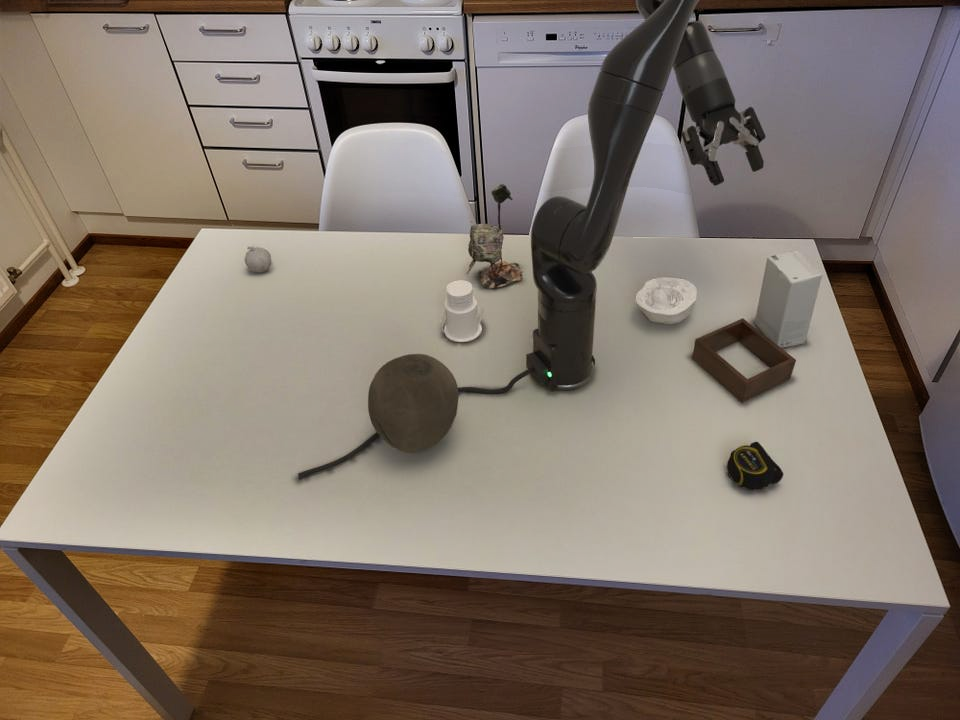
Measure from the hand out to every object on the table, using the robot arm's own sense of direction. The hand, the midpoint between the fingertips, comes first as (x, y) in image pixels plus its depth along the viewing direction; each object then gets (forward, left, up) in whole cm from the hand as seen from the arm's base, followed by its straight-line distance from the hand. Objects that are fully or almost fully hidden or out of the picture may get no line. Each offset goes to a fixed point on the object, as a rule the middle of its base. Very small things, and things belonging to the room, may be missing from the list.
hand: (739, 176), depth 130 cm
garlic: (-73, +56, -25) cm, 96 cm away
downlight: (-46, +16, -25) cm, 55 cm away
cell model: (-12, 0, -25) cm, 28 cm away
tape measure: (-24, -36, -25) cm, 50 cm away
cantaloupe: (-64, -3, -25) cm, 69 cm away
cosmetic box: (+2, -14, -25) cm, 29 cm away
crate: (-10, -18, -25) cm, 32 cm away
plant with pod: (-33, +27, -25) cm, 50 cm away
